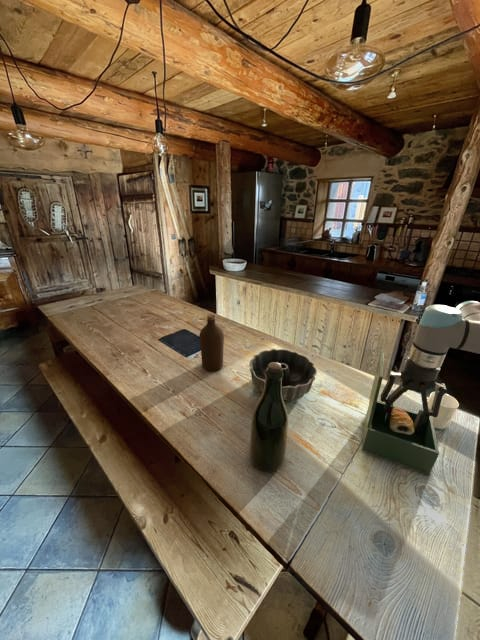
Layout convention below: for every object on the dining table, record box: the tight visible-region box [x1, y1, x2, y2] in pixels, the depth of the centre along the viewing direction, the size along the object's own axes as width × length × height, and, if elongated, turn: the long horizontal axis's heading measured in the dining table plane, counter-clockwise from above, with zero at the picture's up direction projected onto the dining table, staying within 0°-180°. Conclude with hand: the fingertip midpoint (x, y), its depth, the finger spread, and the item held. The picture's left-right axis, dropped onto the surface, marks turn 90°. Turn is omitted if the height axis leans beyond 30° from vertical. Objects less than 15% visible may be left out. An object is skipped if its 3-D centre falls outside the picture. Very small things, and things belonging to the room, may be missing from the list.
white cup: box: [427, 391, 460, 430], centre depth 91 cm, size 8×8×10 cm
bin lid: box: [367, 350, 385, 429], centre depth 80 cm, size 18×15×1 cm
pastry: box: [389, 407, 415, 435], centre depth 81 cm, size 9×7×4 cm
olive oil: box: [198, 314, 225, 372], centre depth 116 cm, size 11×11×25 cm
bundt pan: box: [249, 348, 318, 402], centre depth 107 cm, size 26×26×10 cm
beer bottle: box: [249, 362, 289, 473], centre depth 72 cm, size 10×10×33 cm
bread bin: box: [361, 400, 440, 476], centre depth 82 cm, size 18×15×9 cm
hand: (400, 424), depth 81 cm, fingers closed on pastry, 7 cm apart
